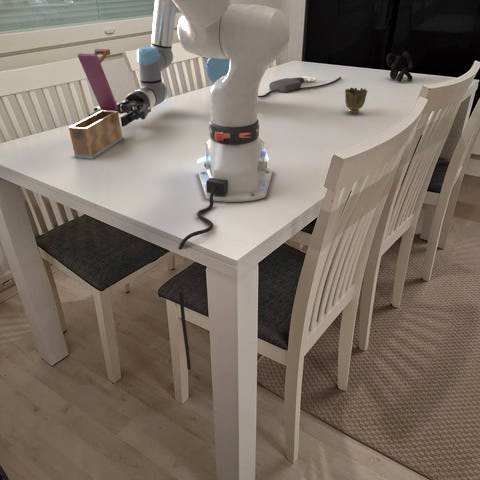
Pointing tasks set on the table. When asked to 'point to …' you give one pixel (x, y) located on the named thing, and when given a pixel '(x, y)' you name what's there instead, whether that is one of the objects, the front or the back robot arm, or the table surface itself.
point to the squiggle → (399, 66)
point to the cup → (355, 99)
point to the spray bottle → (289, 83)
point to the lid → (98, 78)
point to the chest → (95, 134)
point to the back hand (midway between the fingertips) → (106, 120)
